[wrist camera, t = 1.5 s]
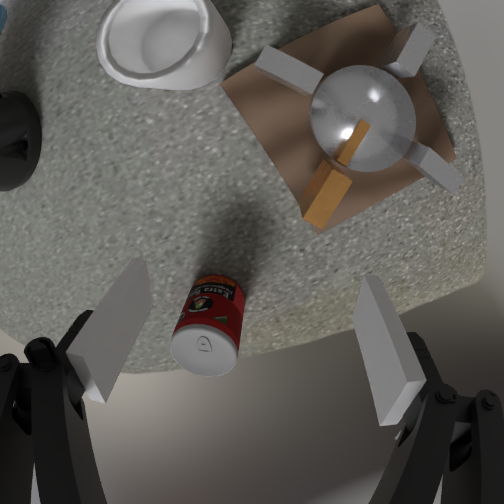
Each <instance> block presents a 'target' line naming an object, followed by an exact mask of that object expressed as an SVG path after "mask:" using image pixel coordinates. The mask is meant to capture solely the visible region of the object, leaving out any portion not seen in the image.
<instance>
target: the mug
mask: <svg viewBox="0 0 504 504" xmlns="http://www.w3.org/2000/svg"><path fill="white" fill-rule="evenodd" d="M96 49H97V53H98V58H99V61H100V63H101V64H102V66H103V67H104V69H105V70H106V72H107V73H108V74H109V75H110V76H112V77H113V78H115V79H116V80H117V81H119V82H120V83H124V84H128V85H132V86H135V87H147V88H159V89H170V90H191V89H195V88H198V87H201V86H204V85H206V84H207V83H209V82H210V81H212V80H213V79H215V78H216V77H217V76H218V75H219V74H220V73H221V72H222V70H223V69H224V68H225V67H226V65H227V63H228V60H229V58H230V56H231V51H232V38H231V35H230V31H229V28H228V27H227V25H226V23H225V22H224V20H223V19H222V17H221V15H220V14H219V12H218V11H217V9H216V8H215V6H214V5H213V3H212V1H211V0H114V1H113V2H112V4H111V5H110V6H109V7H108V9H107V10H106V11H105V13H104V15H103V17H102V20H101V22H100V24H99V27H98V30H97V39H96Z"/></svg>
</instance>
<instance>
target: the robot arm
mask: <svg viewBox="0 0 504 504" xmlns="http://www.w3.org/2000/svg"><path fill="white" fill-rule="evenodd" d="M6 19H7V11H6V9H5V7H4V6H3V5H1V4H0V35H1V32H2V29H3V27H4V24H5V22H6ZM40 148H41V129H40V123H39V118H38V115H37V112H36V110H35V107H34V106H33V104H32V102H31V101H30V100H29V99H28V97H26V96H25V95H24V94H22V93H20V92H16V91H11V92H4V93H0V191H10V190H13V189H15V188H17V187H19V186H21V185H22V184H24V183H25V182H26V181H27V180H28V179H29V178H30V177H31V175H32V174H33V172H34V170H35V168H36V165H37V163H38V159H39V155H40ZM152 307H153V301H152V295H151V289H150V283H149V277H148V270H147V263H146V261H142V260H132V261H131V262H130V263H129V265H128V266H127V267H126V269H125V270H124V271H123V272H122V274H121V275H120V276H119V278H118V279H117V280H116V282H115V283H114V284H113V286H112V287H111V288H110V290H109V291H108V292H107V294H106V295H105V296H104V298H103V299H102V300H101V302H100V303H99V305H98V306H97V307H96V309H95V310H94V311H93V310H86V311H85V312H83V313H82V314H80V315H79V316H78V317H77V319H76V320H75V321H74V323H73V325H71V327H70V328H69V330H68V332H66V334H65V335H64V337H63V338H62V339H61V341H60V342H59V344H58V345H57V347H56V348H55V346H54V343H53V342H52V341H51V340H50V339H49V338H46V337H39V338H36V339H33V340H32V341H30V342H29V343H28V344H27V345H26V347H25V349H24V354H25V355H26V357H27V359H28V361H29V363H20V362H19V360H18V358H17V357H16V356H15V355H13V354H4V355H2V356H0V504H31V488H32V477H33V467H34V463H35V470H36V478H37V485H38V491H39V497H40V503H41V504H107V501H106V498H105V495H104V492H103V488H102V485H101V481H100V478H99V474H98V470H97V466H96V462H95V458H94V453H93V449H92V444H91V439H90V435H89V429H88V424H87V418H86V412H85V405H84V402H83V399H82V395H83V393H84V392H85V391H86V393H87V395H88V397H89V399H91V400H95V401H98V402H102V403H106V402H107V399H108V397H109V395H110V393H111V391H112V389H113V386H114V384H115V382H116V380H117V378H118V376H119V374H120V371H121V369H122V367H123V365H124V363H125V361H126V359H127V357H128V355H129V353H130V351H131V349H132V347H133V345H134V343H135V341H136V339H137V337H138V335H139V333H140V331H141V329H142V327H143V325H144V323H145V321H146V319H147V317H148V315H149V313H150V311H151V309H152ZM352 321H353V324H354V328H355V331H356V334H357V338H358V341H359V345H360V349H361V352H362V356H363V359H364V363H365V367H366V371H367V374H368V378H369V382H370V386H371V390H372V394H373V398H374V403H375V407H376V411H377V416H378V420H379V424H380V426H385V425H394V424H398V422H399V421H400V420H401V418H402V417H404V421H405V425H404V426H403V428H402V429H401V431H400V432H399V433H398V434H397V436H396V437H395V439H397V438H398V437H399V438H398V441H397V443H396V446H395V448H394V450H393V453H392V455H391V458H390V460H389V462H388V465H387V467H386V469H385V471H384V473H383V476H382V478H381V480H380V482H379V484H378V486H377V488H376V490H375V492H374V494H373V496H372V498H371V500H370V502H369V504H433V502H434V499H435V496H436V493H437V490H438V487H439V484H440V481H441V478H442V474H443V481H442V494H441V504H504V418H503V411H502V407H501V402H500V400H499V397H498V396H497V395H496V394H495V393H494V392H492V391H490V390H481V391H480V392H478V393H477V395H476V396H475V397H474V398H473V397H466V396H459V395H458V394H457V392H456V390H455V389H454V388H453V387H451V386H450V385H448V384H444V383H443V382H442V379H441V377H440V375H439V372H438V370H437V368H436V366H435V364H434V361H433V359H432V358H431V355H430V353H429V351H428V350H427V347H426V344H425V342H424V340H423V339H422V338H421V337H420V336H419V335H418V334H417V333H416V332H406V331H405V329H404V327H403V325H402V323H401V320H400V318H399V316H398V314H397V312H396V310H395V308H394V306H393V304H392V302H391V300H390V298H389V296H388V294H387V292H386V290H385V288H384V286H383V284H382V282H381V280H380V278H379V276H374V275H364V277H363V281H362V285H361V289H360V293H359V296H358V300H357V304H356V307H355V311H354V315H353V318H352ZM14 402H15V403H14ZM13 404H14V406H13Z"/></svg>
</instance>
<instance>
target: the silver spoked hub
mask: <svg viewBox="0 0 504 504" xmlns="http://www.w3.org/2000/svg"><path fill="white" fill-rule="evenodd" d="M435 37H436V36H435V35H434V34H433V33H432V32H430V31H429V30H428V29H427V28H425V27H424V26H423V25H422V24H420V23H419V22H417V23H415V24H412V25H410V26H408V27H406V28H404V29H402V30H400V31H398V32H397V33H396V35H395V37H394V38H393V40H392V42H391V44H390V46H389V47H388V49H387V51H386V52H385V54H384V56H383V58H382V59H381V61H380V63H379V65H378V66H377V68H376V67H372V66H366V65H355V66H349V67H345V68H342V69H340V70H338V71H336V72H334V73H332V74H330V75H329V76H327V77H326V78H325V79H324V80H322V82H321V83H320V84H319V85H318V83H319V81H320V80H321V78H322V76H323V73H321V72H320V71H318V70H316V69H314V68H312V67H310V66H309V65H307V64H305V63H303V62H301V61H299V60H297V59H295V58H293V57H291V56H289V55H287V54H285V53H283V52H281V51H279V50H277V49H275V48H273V47H271V46H268V45H266V46H265V47H264V49H263V51H262V52H261V54H260V56H259V58H258V59H257V61H256V63H255V65H254V66H255V68H256V70H257V72H259V73H261V74H263V75H265V76H267V77H269V78H271V79H273V80H275V81H277V82H279V83H281V84H283V85H285V86H287V87H289V88H291V89H293V90H295V91H297V92H299V93H301V94H302V95H304V96H307V95H311V94H312V93H313V92H314V93H313V95H312V98H311V101H310V106H309V123H310V127H311V130H312V133H313V135H314V137H315V139H316V141H317V143H318V144H319V146H320V147H321V148H322V149H323V150H324V151H325V152H326V153H327V154H328V155H329V156H330V157H331V158H332V159H333V160H335V161H336V162H337V163H339V164H340V165H342V166H344V167H346V168H349V169H352V170H355V171H361V172H374V171H379V170H383V169H386V168H388V167H390V166H392V165H393V164H395V163H396V162H397V161H399V160H400V159H401V158H402V159H404V160H405V161H406V162H408V163H409V164H410V165H412V166H413V167H414V168H415V169H417V170H418V171H419V172H421V173H422V174H423V175H424V176H426V177H427V178H428V179H429V180H430V181H432V182H433V183H435V184H437V185H438V186H440V187H442V188H443V189H445V190H446V191H448V192H449V193H451V194H453V195H455V193H456V192H457V190H458V188H459V187H460V185H461V183H462V182H463V180H464V178H463V177H462V176H461V175H460V174H459V173H458V172H457V171H456V170H455V169H454V168H453V167H451V166H450V165H449V164H448V163H447V162H446V161H445V160H444V159H443V158H441V157H440V156H439V155H438V154H437V153H436V152H434V151H433V150H432V149H431V148H430V147H427V146H424V145H421V144H419V143H416V142H413V138H414V134H415V129H416V115H415V110H414V106H413V103H412V100H411V98H410V96H409V94H408V93H407V91H406V89H405V88H404V87H403V85H402V84H401V83H400V82H399V81H398V80H397V79H398V78H405V77H413V76H415V75H416V73H417V71H418V69H419V67H420V66H421V64H422V62H423V60H424V58H425V56H426V54H427V53H428V51H429V49H430V47H431V45H432V43H433V41H434V39H435ZM317 85H318V86H317ZM316 86H317V88H316ZM315 88H316V89H315ZM314 90H315V91H314ZM352 182H353V181H352V180H351V179H350V178H349V177H348V176H347V175H346V174H345V173H344V172H343V171H342V170H341V169H340V168H339V167H337V166H335V165H334V164H332V163H330V162H329V161H327V160H325V159H323V160H322V162H321V164H320V165H319V167H318V169H317V170H316V172H315V174H314V175H313V177H312V179H311V180H310V182H309V184H308V185H307V187H306V189H305V190H304V192H303V194H302V195H301V197H300V199H299V200H298V202H299V206H300V210H301V214H302V218H303V219H304V220H306V221H308V222H310V223H312V224H313V225H315V226H317V227H319V228H321V229H323V227H324V226H325V224H326V223H327V221H328V220H329V218H330V216H331V215H332V213H333V212H334V210H335V209H336V207H337V206H338V204H339V202H340V201H341V199H342V198H343V196H344V195H345V193H346V191H347V190H348V188H349V187H350V185H351V183H352Z"/></svg>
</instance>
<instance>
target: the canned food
mask: <svg viewBox="0 0 504 504" xmlns="http://www.w3.org/2000/svg"><path fill="white" fill-rule="evenodd" d="M244 306H245V300H244V296H243V293H242V291H241V289H240V287H239V286H238V285H237V283H235V282H234V281H233V280H231V279H230V278H228V277H225V276H222V275H208V276H205V277H203V278H201V279H200V280H198V281H197V282H196V283H195V284H194V285H193V287H192V288H191V290H190V293H189V295H188V298H187V300H186V302H185V305H184V307H183V310H182V312H181V315H180V317H179V320H178V322H177V325H176V327H175V330H174V333H173V335H172V339H171V343H170V351H171V355H172V357H173V358H174V360H175V361H176V362H177V363H178V364H179V365H180V366H181V367H182V368H184V369H185V370H187V371H189V372H191V373H193V374H196V375H200V376H206V377H214V376H220V375H223V374H225V373H227V372H229V371H230V370H231V369H232V368H233V367H234V365H235V364H236V360H237V356H238V350H239V344H240V336H241V329H242V321H243V314H244Z"/></svg>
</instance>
